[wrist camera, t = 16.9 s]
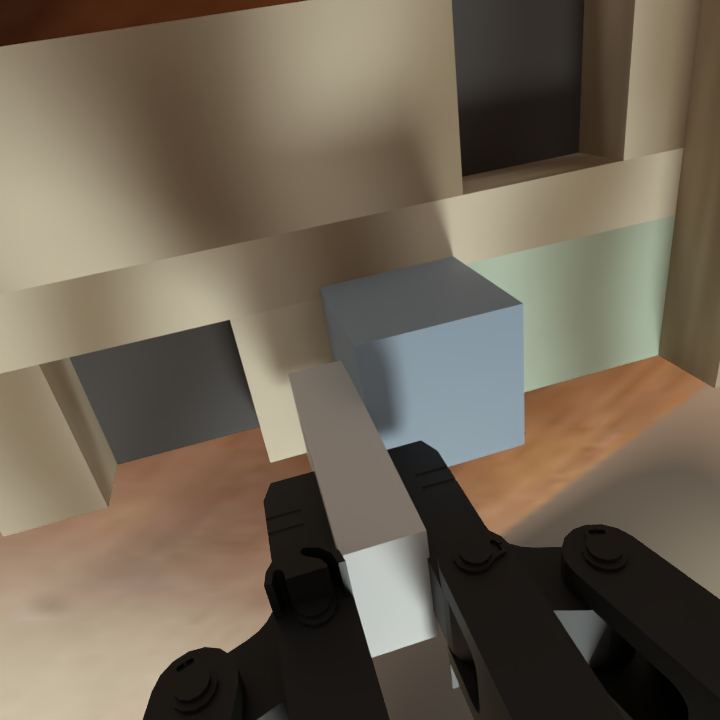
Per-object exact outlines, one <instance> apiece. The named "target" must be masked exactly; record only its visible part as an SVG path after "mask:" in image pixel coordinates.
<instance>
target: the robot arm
mask: <svg viewBox="0 0 720 720" xmlns="http://www.w3.org/2000/svg"><path fill="white" fill-rule="evenodd" d="M288 376H289V380H290V384H291V388H292V392H293V396H294V401H295V405H296V409H297V413H298V417H299V421H300V426H301V430H302V434H303V438H304V442H305V446H306V451H307V455H308V458H309V462H310V466H311V469H312V472H310V473H306V474H303V475H299V476H295V477H292V478H288V479H285V480H281V481H277V482H274V483H271V484H270V486H269V489H268V491H267V494H266V496H265V499H264V508H265V516H266V521H267V522H266V523H267V530H268V536H269V545H270V552H271V559H272V563H271V564H270V566H269V568H268V570H267V571H266V575H265V583H264V587H265V590H266V593H267V596H268V599H269V602H270V605H271V608H272V611H273V612H272V614H271V615H270V617H269V619H268V621H267V622H266V623H265V625H264V626H263V627H262V628H261V629H260V630H259V631H258V632H257V633H256V634H255V635H253V636H252V637H251V638H250V639H248V640H247V641H245V642H244V643H242V644H241V645H239V646H238V647H236V648H235V649H233V650H232V651H230V652H229V653H226V652H225V651H223V650H221V649H219V648H209V647H204V648H200V649H197V650H193V651H189V652H187V653H186V654H184V655H183V656H181V657H180V658H178V659H176V660H175V661H173V662H172V663H171V664H170V666H169V667H168V668H167V669H166V670H165V671H164V672H163V673H162V674H161V675H160V677H159V679H158V681H157V683H156V685H155V687H154V689H153V691H152V693H151V696H150V699H149V702H148V705H147V708H146V711H145V714H144V718H143V720H389V716H388V713H387V709H386V706H385V703H384V699H383V696H382V692H381V689H380V685H379V682H378V678H377V675H376V671H375V668H374V665H373V661H372V657H375V656H378V655H381V654H384V653H387V652H390V651H393V650H396V649H399V648H402V647H405V646H408V645H411V644H414V643H417V642H420V641H423V640H426V639H429V638H432V637H435V636H438V635H439V629H438V622H439V625H440V627H441V629H442V632H443V634H444V636H445V639H446V641H447V649H448V657H449V666H450V675H451V681H452V686H453V689H454V688H457V687H459V685H460V688H461V690H462V693H463V695H464V697H465V700H466V702H467V705H468V707H469V709H470V712H471V714H472V717H473V719H474V720H720V599H718V598H717V597H716V596H714V595H713V594H712V593H710V592H709V591H708V590H706V589H705V588H703V587H702V586H701V585H699V584H698V583H696V582H695V581H694V580H692V579H691V578H689V577H688V576H687V575H685V574H684V573H683V572H681V571H680V570H678V569H677V568H676V567H674V566H673V565H671V564H670V563H669V562H667V561H666V560H665V559H663V558H662V557H660V556H659V555H658V554H656V553H655V552H653V551H652V550H651V549H649V548H648V547H646V546H645V545H644V544H642V543H641V542H640V541H638V540H637V539H636V538H634V537H633V536H631V535H629V534H627V533H626V532H624V531H621V530H620V529H618V528H614V527H610V526H606V525H602V524H601V525H585V526H582V527H579V528H576V529H573V530H572V531H571V532H570V533H569V534H568V535H567V536H566V537H565V538H564V542H563V545H562V547H547V548H546V547H545V548H544V547H543V548H530V547H520V546H516V545H512V544H509V543H507V542H506V541H505V540H504V539H503V538H502V537H501V536H499V535H497V534H495V533H493V532H491V531H489V530H488V529H487V527H486V526H485V525H484V523H483V522H482V520H481V518H480V517H479V515H478V514H477V512H476V511H475V509H474V507H473V506H472V504H471V503H470V501H469V499H468V498H467V496H466V495H465V493H464V492H463V490H462V488H461V487H460V485H459V484H458V482H457V481H456V480H455V477H454V476H453V474H452V473H451V471H450V469H448V467H447V465H446V463H445V462H444V460H443V458H442V457H441V455H440V454H439V452H438V451H437V450H436V449H434V448H432V447H431V446H429V445H428V444H426V443H425V442H423V441H421V440H420V441H417V442H413V443H409V444H406V445H402V446H399V447H395V448H391V449H388V450H386V448H385V446H384V444H383V442H382V440H381V438H380V435H379V433H378V431H377V429H376V427H375V425H374V423H373V421H372V419H371V417H370V415H369V413H368V411H367V409H366V407H365V405H364V403H363V401H362V400H361V398H360V396H359V394H358V392H357V390H356V388H355V386H354V384H353V382H352V380H351V378H350V376H349V374H348V373H347V371H346V369H345V367H344V365H343V363H342V361H337V362H333V363H329V364H325V365H321V366H317V367H313V368H309V369H305V370H300V371H296V372H292V373H288ZM437 620H438V621H437ZM458 683H459V684H458Z"/></svg>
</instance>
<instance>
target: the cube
mask: <svg viewBox="0 0 720 720" xmlns="http://www.w3.org/2000/svg"><path fill="white" fill-rule="evenodd" d="M320 293H321V298H322V303H323V309H324V314H325V319H326V324H327V329H328V334H329V340H330V345H331V350H332V355H333V360H334V362H337V361H342V363H343V365H344V367H345V369H346V371H347V373H348V374H349V376H350V378H351V380H352V382H353V384H354V386H355V388H356V390H357V392H358V394H359V396H360V398H361V400H362V401H363V403H364V405H365V407H366V409H367V411H368V413H369V415H370V417H371V419H372V421H373V423H374V425H375V427H376V429H377V431H378V433H379V435H380V438H381V440H382V442H383V444H384V446H385V448H386V450H388V449H391V448H395V447H399V446H402V445H406V444H409V443H413V442H417V441H420V440H421V441H423V442H425V443H426V444H428V445H429V446H431V447H432V448H434V449H436V450H437V451H438V452H439V454H440V455H441V457H442V458H443V460H444V462H445V463H446V465H447V467H449V466H453V465H456V464H459V463H463V462H466V461H469V460H473V459H476V458H480V457H483V456H486V455H490V454H493V453H497V452H500V451H503V450H507V449H510V448H514V447H517V446H520V445H524V333H523V303H522V302H520V301H519V300H517V299H516V298H514V297H513V296H511V295H510V294H508V293H507V292H505V291H504V290H502V289H501V288H499V287H498V286H496V285H495V284H494V283H492V282H491V281H489V280H488V279H486V278H485V277H483V276H482V275H480V274H479V273H477V272H476V271H474V270H473V269H471V268H470V267H468V266H467V265H465V264H464V263H462V262H461V261H459V260H458V259H456V258H455V257H449V258H445V259H440V260H436V261H432V262H427V263H423V264H419V265H414V266H410V267H406V268H401V269H397V270H393V271H388V272H384V273H380V274H376V275H371V276H367V277H363V278H358V279H354V280H350V281H345V282H341V283H337V284H332V285H328V286H324V287H320Z"/></svg>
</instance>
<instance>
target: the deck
mask: <svg viewBox="0 0 720 720" xmlns="http://www.w3.org/2000/svg"><path fill="white" fill-rule="evenodd" d="M449 257H455V258H456V259H458V260H459V261H461V262H462V263H464V264H465V265H467V266H468V267H470V268H471V269H473V270H474V271H476V272H477V273H479V274H480V275H482V276H483V277H485V278H486V279H488V280H489V281H491V282H492V283H494V284H495V285H496V286H498V287H499V288H501V289H502V290H504V291H505V292H507V293H508V294H510V295H511V296H513V297H514V298H516V299H517V300H519V301H520V302H522V303H523V333H524V392H527V391H530V390H534V389H538V388H541V387H545V386H548V385H552V384H556V383H559V382H563V381H566V380H570V379H574V378H577V377H581V376H584V375H588V374H592V373H595V372H599V371H602V370H606V369H610V368H613V367H617V366H620V365H624V364H628V363H631V362H635V361H638V360H642V359H646V358H649V357H653V356H656V355H659V356H661V357H663V358H664V359H666V360H668V361H669V362H671V363H673V364H675V365H676V366H678V367H680V368H681V369H683V370H685V371H686V372H688V373H690V374H691V375H693V376H695V377H697V378H698V379H700V380H702V381H703V382H705V383H707V384H708V385H710V386H712V387H713V388H718V387H720V0H308V1H301V2H294V3H288V4H281V5H274V6H268V7H261V8H254V9H248V10H241V11H234V12H228V13H221V14H214V15H208V16H201V17H194V18H188V19H181V20H174V21H168V22H161V23H154V24H148V25H141V26H135V27H128V28H121V29H115V30H108V31H101V32H95V33H88V34H81V35H75V36H68V37H61V38H55V39H48V40H41V41H35V42H28V43H21V44H15V45H8V46H1V47H0V532H1V534H2V535H3V537H4V536H8V535H11V534H15V533H19V532H22V531H26V530H29V529H33V528H37V527H40V526H44V525H47V524H51V523H55V522H58V521H62V520H65V519H69V518H73V517H76V516H80V515H83V514H87V513H91V512H94V511H98V510H102V509H105V508H108V506H109V501H110V497H111V492H112V488H113V483H114V479H115V474H116V469H117V465H118V464H122V463H125V462H129V461H133V460H137V459H140V458H144V457H148V456H152V455H155V454H159V453H163V452H167V451H170V450H174V449H178V448H182V447H185V446H189V445H193V444H197V443H200V442H204V441H208V440H212V439H215V438H219V437H223V436H227V435H230V434H234V433H238V432H242V431H245V430H249V429H253V428H257V427H260V428H261V431H262V435H263V438H264V442H265V445H266V449H267V452H268V456H269V459H270V463H271V462H274V461H278V460H282V459H285V458H289V457H293V456H296V455H300V454H303V453H307V451H306V446H305V442H304V438H303V434H302V430H301V426H300V421H299V417H298V413H297V409H296V405H295V401H294V396H293V392H292V388H291V384H290V380H289V376H288V373H292V372H296V371H300V370H305V369H309V368H313V367H317V366H321V365H325V364H329V363H333V362H334V360H333V355H332V350H331V345H330V340H329V334H328V329H327V324H326V319H325V314H324V309H323V303H322V298H321V293H320V287H324V286H328V285H332V284H337V283H341V282H345V281H350V280H354V279H358V278H363V277H367V276H371V275H376V274H380V273H384V272H388V271H393V270H397V269H401V268H406V267H410V266H414V265H419V264H423V263H427V262H432V261H436V260H440V259H445V258H449Z"/></svg>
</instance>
